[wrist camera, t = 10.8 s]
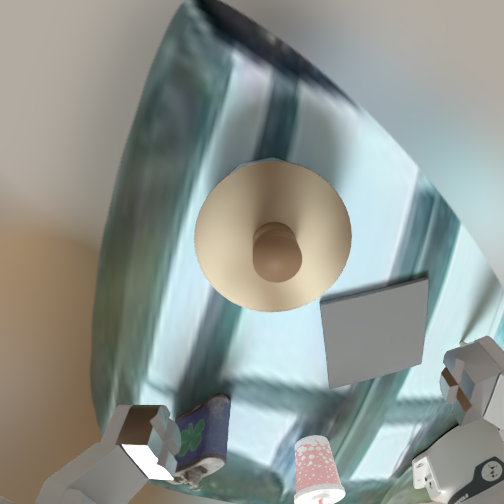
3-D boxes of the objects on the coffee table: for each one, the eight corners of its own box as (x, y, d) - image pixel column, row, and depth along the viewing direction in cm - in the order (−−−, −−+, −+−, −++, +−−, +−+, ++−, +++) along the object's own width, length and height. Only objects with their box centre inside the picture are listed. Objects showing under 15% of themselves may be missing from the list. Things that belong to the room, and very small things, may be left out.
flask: (219, 389, 33) (210, 470, 23) (238, 402, 33) (235, 481, 23) (170, 420, 35) (153, 490, 25) (188, 431, 36) (176, 500, 26)
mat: (419, 360, 31) (421, 363, 31) (329, 385, 32) (329, 388, 32) (425, 276, 28) (428, 279, 27) (319, 302, 29) (320, 305, 28)
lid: (334, 147, 20) (352, 150, 16) (354, 288, 23) (371, 316, 19) (179, 181, 20) (162, 192, 17) (219, 316, 24) (213, 348, 20)
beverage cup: (284, 438, 36) (291, 532, 23) (330, 427, 35) (350, 520, 22) (294, 459, 38) (302, 543, 25) (336, 449, 37) (353, 532, 24)
